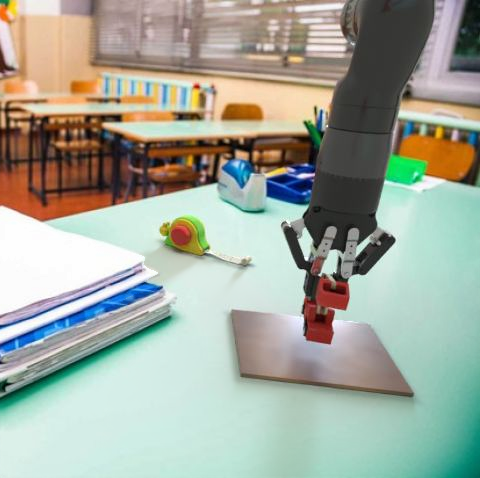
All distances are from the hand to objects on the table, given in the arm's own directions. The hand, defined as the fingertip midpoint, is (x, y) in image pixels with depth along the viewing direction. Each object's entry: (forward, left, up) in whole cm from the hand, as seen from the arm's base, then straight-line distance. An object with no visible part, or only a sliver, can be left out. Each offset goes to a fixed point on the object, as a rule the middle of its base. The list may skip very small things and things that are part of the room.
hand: (322, 299), depth 64 cm
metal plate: (0, 0, -8) cm, 8 cm away
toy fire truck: (0, 0, -5) cm, 5 cm away
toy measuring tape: (+14, -31, -8) cm, 35 cm away
